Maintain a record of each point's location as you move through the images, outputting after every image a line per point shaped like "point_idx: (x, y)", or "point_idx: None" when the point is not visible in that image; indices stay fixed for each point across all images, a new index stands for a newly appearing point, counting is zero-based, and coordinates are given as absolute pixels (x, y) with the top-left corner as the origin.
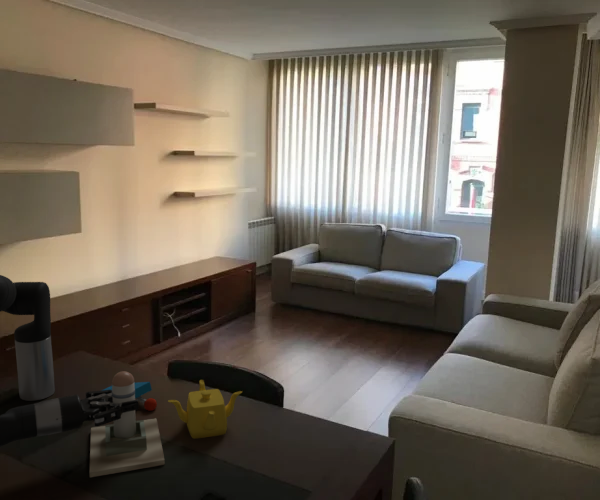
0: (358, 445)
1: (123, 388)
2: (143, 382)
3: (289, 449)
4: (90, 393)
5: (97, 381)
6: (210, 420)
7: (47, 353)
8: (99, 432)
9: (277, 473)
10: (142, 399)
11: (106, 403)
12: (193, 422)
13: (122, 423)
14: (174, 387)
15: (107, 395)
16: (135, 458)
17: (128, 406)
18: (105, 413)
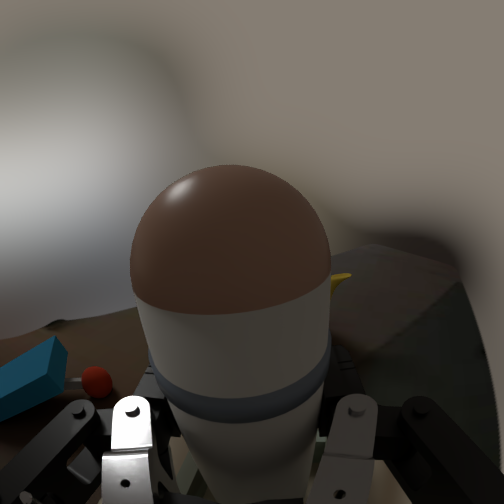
0: (375, 252)
1: (330, 284)
2: (40, 345)
3: (374, 282)
4: (12, 498)
5: None
6: (330, 299)
7: None
8: None
9: (429, 296)
10: (70, 381)
11: (352, 484)
12: None
13: (308, 472)
14: (76, 335)
15: (150, 450)
16: (378, 479)
17: (357, 378)
18: (494, 466)
